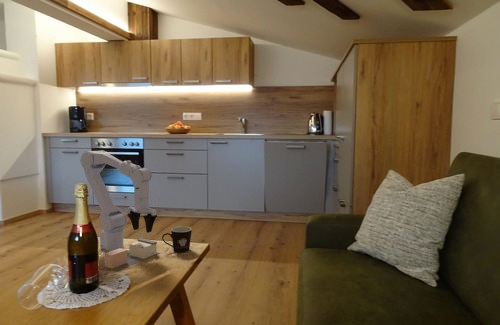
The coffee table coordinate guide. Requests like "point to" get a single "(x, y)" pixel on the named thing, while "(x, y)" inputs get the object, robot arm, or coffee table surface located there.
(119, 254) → the stub
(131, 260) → the mat
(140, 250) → the pad
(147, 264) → the coffee table surface
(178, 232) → the coffee mug
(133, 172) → the robot arm
